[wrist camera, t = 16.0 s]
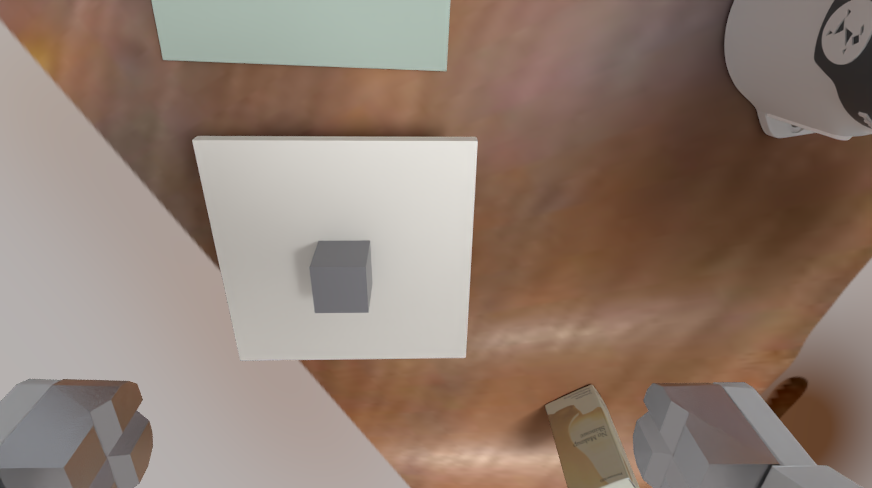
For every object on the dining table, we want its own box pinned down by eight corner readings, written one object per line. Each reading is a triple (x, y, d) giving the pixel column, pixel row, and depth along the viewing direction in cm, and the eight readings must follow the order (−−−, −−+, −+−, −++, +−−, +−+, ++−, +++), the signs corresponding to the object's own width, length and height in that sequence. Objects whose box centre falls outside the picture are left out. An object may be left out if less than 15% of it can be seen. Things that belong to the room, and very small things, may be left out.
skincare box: (591, 381, 59) (632, 475, 48) (606, 405, 60) (649, 500, 50) (541, 405, 60) (569, 501, 49) (557, 427, 62) (588, 524, 51)
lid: (476, 136, 38) (484, 159, 33) (464, 350, 47) (469, 390, 43) (197, 135, 37) (168, 159, 32) (243, 353, 46) (225, 394, 42)
